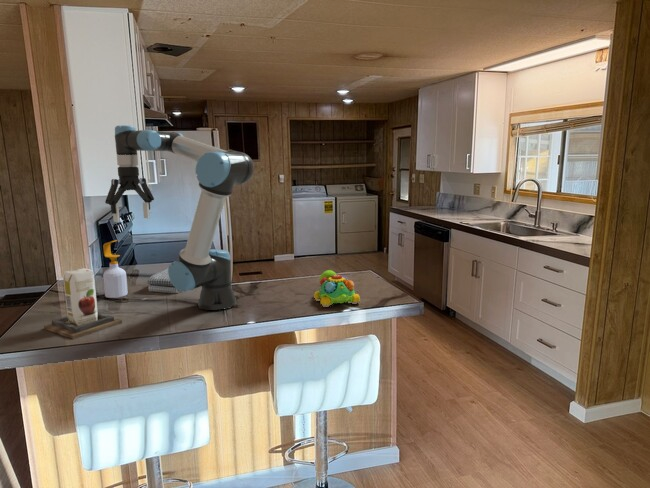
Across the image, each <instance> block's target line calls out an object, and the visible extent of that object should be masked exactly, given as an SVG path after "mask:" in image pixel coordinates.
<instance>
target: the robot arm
mask: <svg viewBox="0 0 650 488" xmlns="http://www.w3.org/2000/svg"><path fill="white" fill-rule="evenodd" d="M114 140H115V141H114V142H115V150H116V163H117V166H118V167H117V174H118V176H117V177H118V179H116V178H112V179H111V180H110V181H111V182H110V183H111V184H110V188H109V190H108V193H107V196H106V199H105V201H104V202H105V204H107V205H110V206H109V207H110V213H111V214H112V219H113V223H114V222H115V223H120V221H121V220H120V209H119V205H117V204H118V203H119V201H120V199H121V198H122V196H123V195H124V193H125V192H126V191H134V192H136V194H137V195H139V196H140V198H141V200H143V202H142V210H143V211H142V212H143V219H150V210H151V203H152V202H153V201H154V200H155V197H154V196H153V194H152V191H151V190H150V188H149V185H148V184H147V180H146V178H145V177H140V178H139V176H140V170H139V167H138V165H139V158H138V151H141V152H142V151H145V152H148V151H149V152H169V153H172V154H176V155H178V156H180V157H184V158H186V159H189V160H192V161H194V162H196V166H195V174H196V179H197V181H198V187H199V189H200V190H201V192H200V195H199V198H198V201H197V206H196V209H195V213H194V217H193V220H192V223H191V226H190V227H191V228H190V231H189V234H188V238H187V240H186V241H187V242H186V245H185V247H184V248H182V249H181V250H180V251H179V254H178V257H177V260H174V261H173V262H171V263H170V264H169V266H168V267H167V268H168V275H169V279H170V280H171V283H172V284H173V286H174V287H175V288H177V289H178V290H180V291H181V292H188V291H193V290H194V289H197V288H200V287H201V290H200V293H199V298H198V303H197V306H199V307H198V309H200V308H201V309H200V310H202V309H206V310H205V311H207V310H217V309H224V308H228V307H231V306H233V305H235V304H236V305H237V298H236V296H235V293H234V289H233V287H232V270H231V268H232V266H231V263H232V260H231V254H230V252H229V251H228V250H226V249H217V248H216V249H213V248H212V245H213V241H214V238H215V235H216V232H217V228H218V225H219V223H220V219H221V215H222V211H223V209H224V204H225V201H226V198H229V197H230V196H232V195H233V191H234V187H235V186H237V185H238V186H239V185H243V184H246V183H248V182H249V181H250V180H251V178H253V175H254V173H255V165H254V164H255V163H254V162H253V160H252V158H251V157H250V156H249V155H248V154H246V153H245V152H242V151H237V150H233V149H228V150H225V149H222V148H220V147H217V146H214V145H210V144H207V143H204V142H201V141H198V140H196V139H192V138H189V137H185V136H184V135H183V134H182V133H180V132H174V131H172V132H170V131H157V130H154V129H142V130H136V127H135V126H134V125H124V124H123V125H116V126H115V127H114ZM139 184H140V185H139ZM211 248H212V249H211ZM236 305H235V306H236Z"/></svg>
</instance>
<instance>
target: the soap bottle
mask: <svg viewBox="0 0 650 488" xmlns="http://www.w3.org/2000/svg"><path fill="white" fill-rule="evenodd" d="M114 242H115V243H116V242H118V239H115V240H111V241H109V242H105V243H104V244H103V245H102V247H103V256H104V258H109V260H111V261H110V262H109V268H107V269H105V270H104V272H103V274H102V278H103V279H102V280H103V288H104V297H105V298H109V299H118V298H123V297H126V296H127V295H128V280H127V272H126V270H125V269H123V268H121V267H119V261H116V260H117V258H118V257H120V256H121V255H120V254H113V253H112V251H111V245H112V243H114Z"/></svg>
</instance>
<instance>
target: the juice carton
mask: <svg viewBox="0 0 650 488" xmlns="http://www.w3.org/2000/svg"><path fill="white" fill-rule="evenodd" d="M63 288H64V299H65V309H66V316H67V317H68V320H69V323H70V324H72V325H75V326H81V325H84V324H87V323H90V322H93V321H97V317H98V312H99V311H98V301H97V294H96V293H97V292H96V281H95V275H94V271H93V270H92V269H89V268H83V267H82V268H78V269H75V270H67V271H64V272H63Z"/></svg>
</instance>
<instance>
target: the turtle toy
mask: <svg viewBox="0 0 650 488" xmlns="http://www.w3.org/2000/svg"><path fill="white" fill-rule="evenodd" d="M319 284H320V287H319V290H317V291H315V292H314V294H313V299H314V298H315V299H320V305H321V304H322V305H330V304H333V303H334V304H337V303H340V304H345V303H348V301H349V302H357V301H360V302H361V297H360V294H359V293H356V292H355V290H354V289H355V288H354V287H355V283H354V281H353V280H349V279H348V277H347V276H345V275H341V274H336V272H335V271H333V270H331V269H329V270H328V269H327V270H325V271H323V272H322V274H320V275H319ZM315 299H314V300H315ZM344 302H345V303H344ZM334 304H333V305H334Z"/></svg>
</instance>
